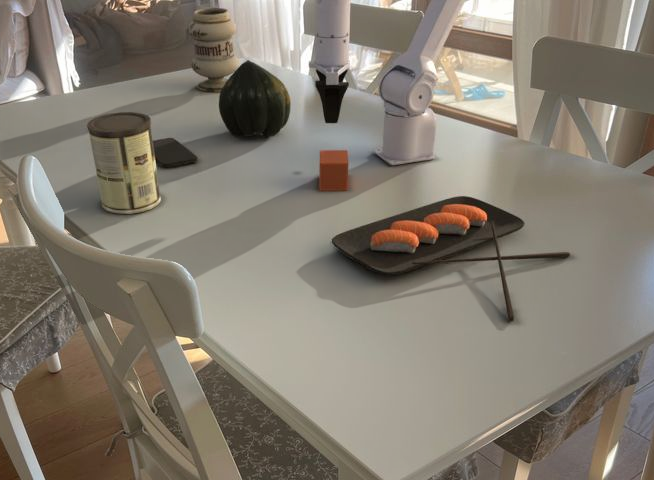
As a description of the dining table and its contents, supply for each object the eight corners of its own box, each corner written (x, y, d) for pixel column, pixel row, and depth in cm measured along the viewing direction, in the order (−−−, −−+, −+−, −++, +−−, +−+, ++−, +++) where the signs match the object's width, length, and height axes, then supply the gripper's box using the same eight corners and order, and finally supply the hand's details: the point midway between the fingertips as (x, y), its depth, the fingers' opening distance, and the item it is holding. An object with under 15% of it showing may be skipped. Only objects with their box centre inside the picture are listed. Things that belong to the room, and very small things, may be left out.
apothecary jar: (188, 92, 179) (180, 15, 169) (199, 80, 189) (193, 6, 179) (234, 93, 177) (230, 15, 167) (244, 81, 187) (240, 6, 177)
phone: (172, 136, 149) (199, 157, 138) (173, 140, 150) (199, 161, 138) (138, 143, 146) (163, 164, 135) (139, 147, 147) (163, 169, 136)
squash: (272, 124, 140) (284, 52, 141) (202, 121, 144) (214, 51, 145) (290, 152, 153) (301, 87, 154) (226, 149, 157) (237, 85, 159)
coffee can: (119, 188, 129) (107, 109, 121) (170, 194, 126) (161, 114, 118) (89, 210, 121) (74, 128, 113) (143, 217, 118) (131, 133, 110)
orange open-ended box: (347, 190, 125) (348, 163, 122) (319, 190, 126) (319, 163, 123) (346, 176, 131) (347, 150, 128) (319, 176, 131) (319, 150, 128)
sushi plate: (463, 203, 120) (466, 181, 117) (619, 274, 99) (626, 249, 96) (322, 249, 107) (323, 226, 105) (467, 341, 86) (472, 315, 84)
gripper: (309, 26, 125) (309, 104, 133) (307, 44, 114) (308, 129, 121) (349, 25, 125) (347, 103, 133) (352, 43, 113) (349, 128, 121)
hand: (331, 115), depth 127 cm, fingers open, 7 cm apart
